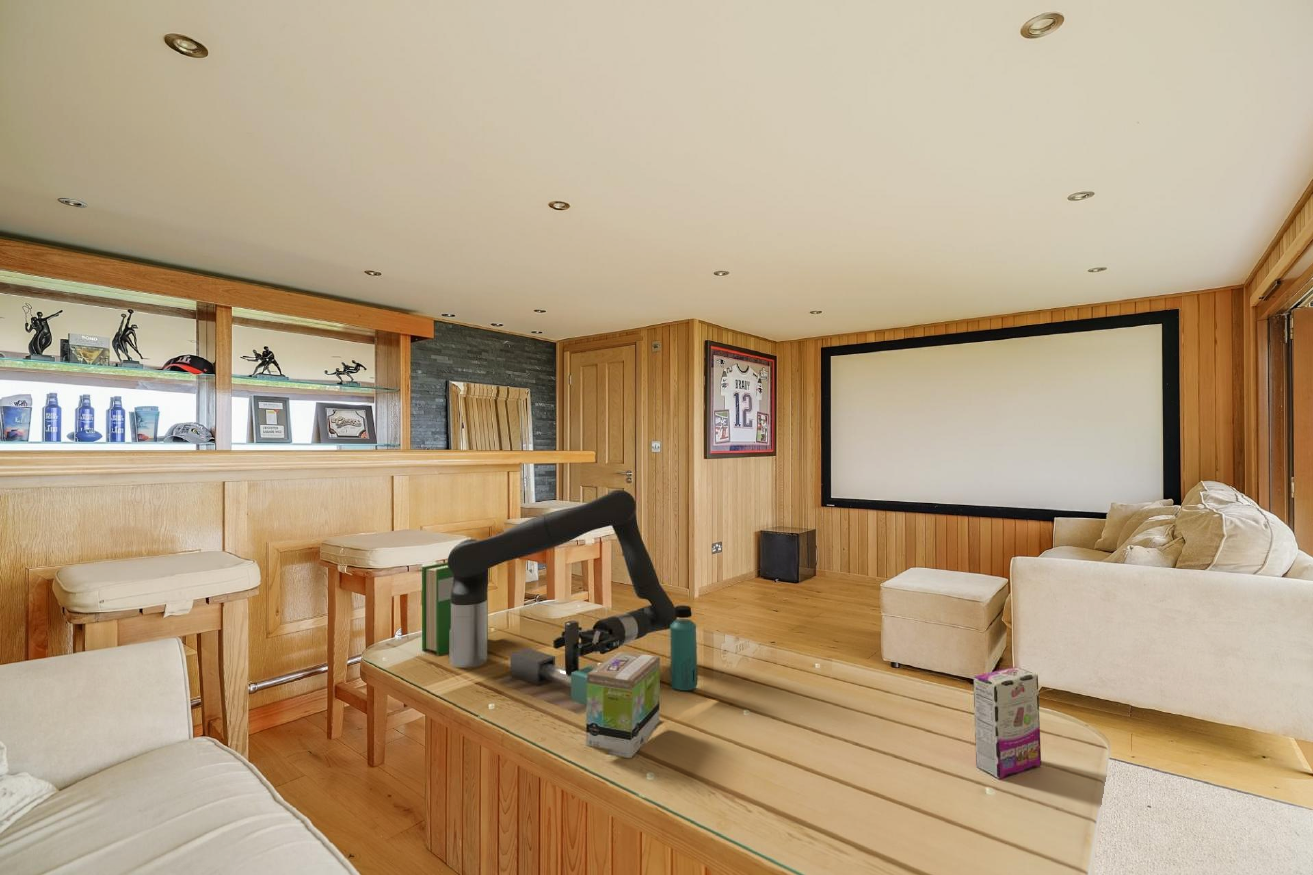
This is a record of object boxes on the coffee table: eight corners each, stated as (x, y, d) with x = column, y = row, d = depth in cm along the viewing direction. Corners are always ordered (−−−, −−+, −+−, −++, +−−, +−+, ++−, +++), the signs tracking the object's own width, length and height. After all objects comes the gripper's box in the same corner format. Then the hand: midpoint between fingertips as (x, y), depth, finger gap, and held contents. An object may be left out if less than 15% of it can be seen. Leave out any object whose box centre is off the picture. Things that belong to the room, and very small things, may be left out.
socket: (571, 699, 139) (571, 673, 139) (590, 691, 144) (590, 665, 144) (591, 707, 135) (591, 679, 135) (611, 698, 140) (610, 672, 140)
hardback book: (438, 655, 174) (438, 569, 174) (422, 651, 178) (421, 566, 178) (487, 639, 188) (487, 559, 189) (471, 635, 193) (471, 557, 193)
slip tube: (531, 676, 150) (531, 615, 150) (542, 672, 153) (542, 612, 153) (590, 697, 137) (590, 630, 137) (601, 693, 140) (601, 627, 140)
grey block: (510, 676, 154) (510, 653, 154) (527, 670, 158) (527, 647, 158) (537, 686, 147) (537, 662, 147) (555, 680, 151) (555, 656, 151)
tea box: (633, 760, 115) (632, 679, 115) (584, 751, 118) (584, 673, 118) (661, 726, 129) (660, 654, 129) (616, 719, 132) (616, 649, 132)
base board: (494, 686, 151) (494, 681, 151) (539, 670, 162) (539, 665, 162) (579, 719, 132) (579, 714, 132) (624, 699, 142) (624, 693, 142)
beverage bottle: (696, 698, 143) (695, 610, 143) (667, 696, 144) (666, 609, 144) (699, 687, 149) (698, 603, 149) (672, 685, 150) (671, 602, 151)
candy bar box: (1016, 754, 116) (1014, 665, 116) (1042, 766, 111) (1040, 674, 111) (973, 767, 111) (971, 674, 111) (998, 780, 107) (996, 684, 107)
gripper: (595, 611, 159) (546, 625, 147) (636, 621, 150) (588, 637, 138) (595, 641, 159) (546, 657, 147) (637, 652, 150) (588, 671, 137)
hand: (566, 647), depth 142 cm, fingers open, 8 cm apart
